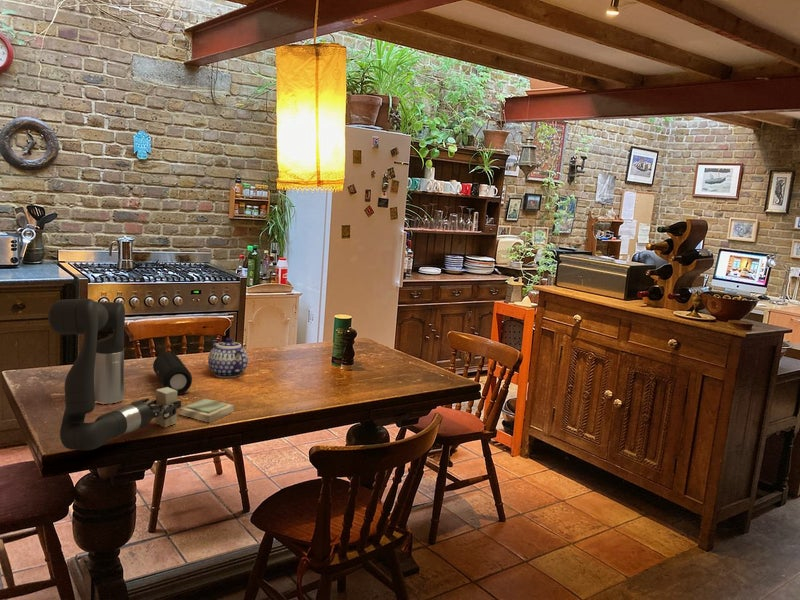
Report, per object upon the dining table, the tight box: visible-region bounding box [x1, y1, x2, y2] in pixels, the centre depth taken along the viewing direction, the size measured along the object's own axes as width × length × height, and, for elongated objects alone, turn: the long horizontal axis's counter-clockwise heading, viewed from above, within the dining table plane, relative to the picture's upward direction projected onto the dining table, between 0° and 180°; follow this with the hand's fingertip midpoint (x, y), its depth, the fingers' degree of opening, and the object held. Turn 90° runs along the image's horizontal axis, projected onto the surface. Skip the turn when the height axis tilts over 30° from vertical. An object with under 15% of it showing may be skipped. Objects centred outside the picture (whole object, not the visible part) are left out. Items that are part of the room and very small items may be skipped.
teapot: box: [207, 337, 249, 379], centre depth 252 cm, size 25×15×15 cm, turn 40°
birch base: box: [178, 397, 235, 424], centre depth 209 cm, size 12×12×3 cm
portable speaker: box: [152, 351, 193, 395], centre depth 234 cm, size 26×10×10 cm, turn 30°
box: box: [154, 387, 178, 428], centre depth 197 cm, size 5×4×11 cm
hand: (172, 401), depth 199 cm, fingers closed on box, 5 cm apart
